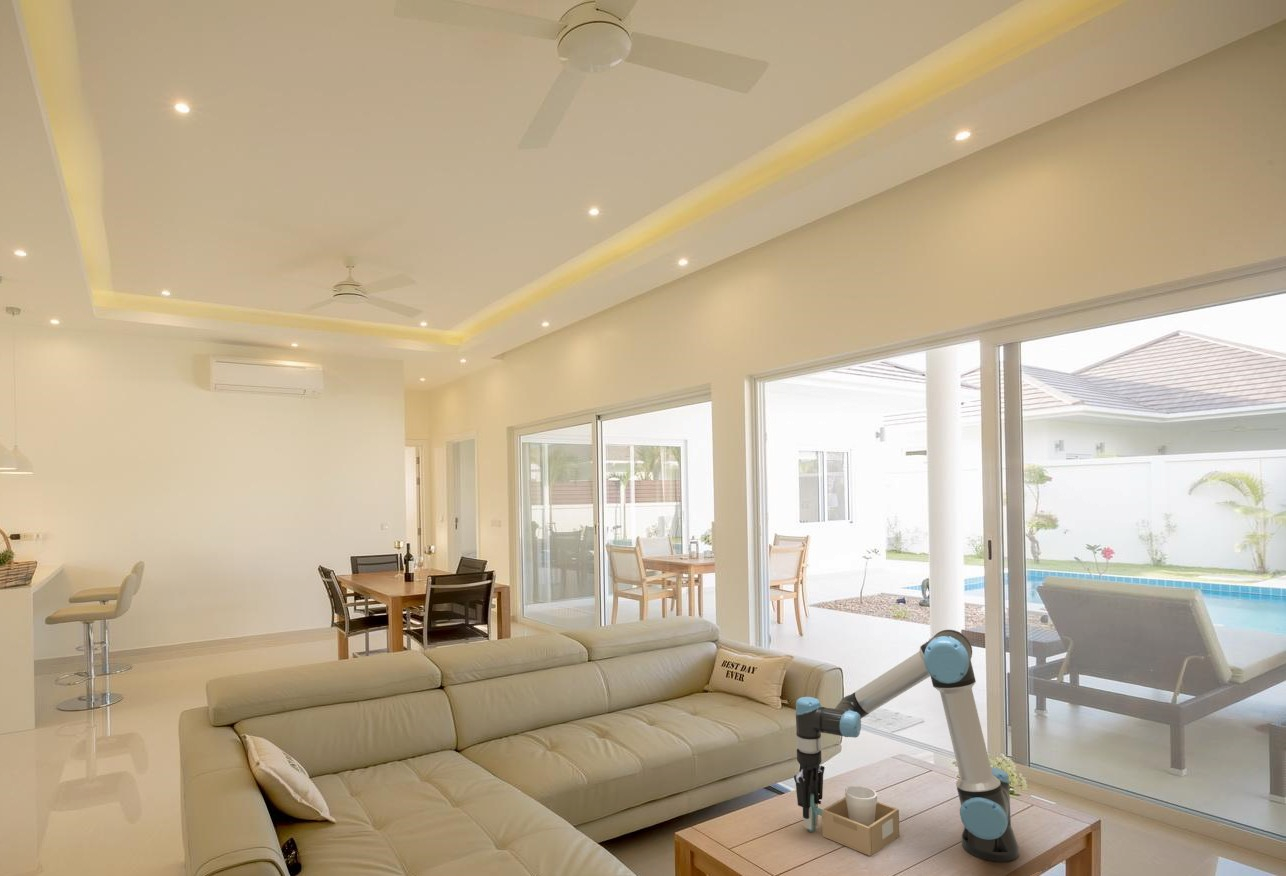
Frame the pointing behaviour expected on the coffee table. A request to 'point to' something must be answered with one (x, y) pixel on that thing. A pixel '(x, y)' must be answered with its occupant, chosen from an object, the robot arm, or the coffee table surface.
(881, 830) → the carton
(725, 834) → the coffee table surface
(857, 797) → the foam cup
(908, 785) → the coffee table surface
